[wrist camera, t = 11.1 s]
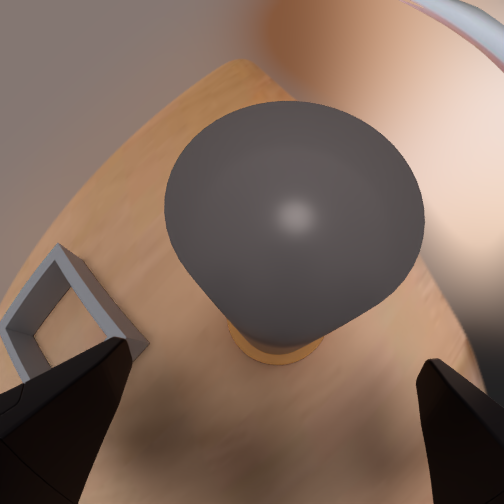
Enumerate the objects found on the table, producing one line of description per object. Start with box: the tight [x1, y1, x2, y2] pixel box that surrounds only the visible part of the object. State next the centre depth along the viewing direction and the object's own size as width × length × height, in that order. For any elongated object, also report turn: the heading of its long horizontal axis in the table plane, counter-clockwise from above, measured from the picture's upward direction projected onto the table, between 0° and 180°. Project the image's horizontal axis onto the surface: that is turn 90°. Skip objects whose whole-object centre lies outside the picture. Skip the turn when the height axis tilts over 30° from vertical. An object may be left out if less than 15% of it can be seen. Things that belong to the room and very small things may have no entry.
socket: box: [0, 243, 150, 383], centre depth 14 cm, size 8×8×3 cm
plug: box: [164, 101, 425, 365], centre depth 10 cm, size 5×5×12 cm
